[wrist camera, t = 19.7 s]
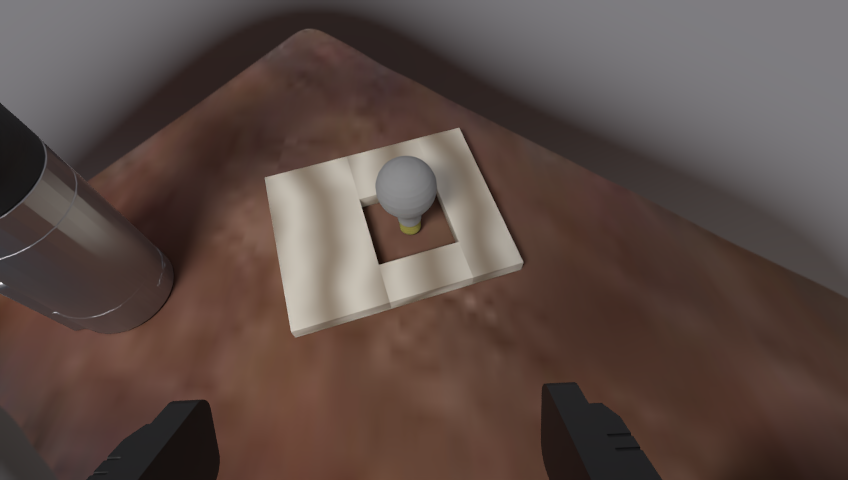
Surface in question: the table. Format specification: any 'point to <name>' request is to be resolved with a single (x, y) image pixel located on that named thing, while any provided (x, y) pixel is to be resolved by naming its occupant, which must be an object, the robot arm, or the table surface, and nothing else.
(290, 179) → the cream board with hole
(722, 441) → the table surface
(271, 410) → the table surface
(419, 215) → the light bulb
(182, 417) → the robot arm
